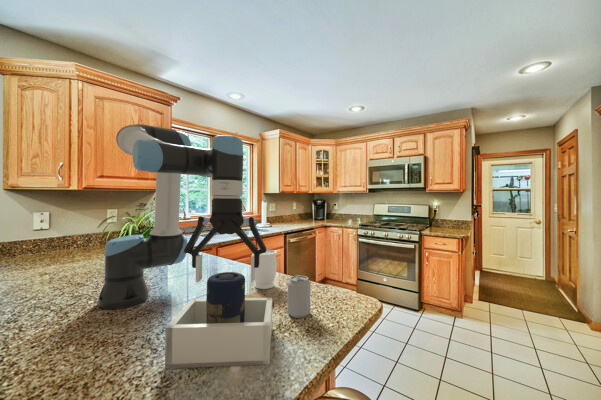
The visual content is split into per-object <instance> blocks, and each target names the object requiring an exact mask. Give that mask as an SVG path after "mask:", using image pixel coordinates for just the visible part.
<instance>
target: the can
mask: <svg viewBox="0 0 601 400" xmlns="http://www.w3.org/2000/svg"><path fill="white" fill-rule="evenodd" d="M287 313H288V314H289V315H290V316H291V317H292V318H296V319H302V318H305V317H308V315H309V314H310V313H311V281H310V280H309V277H308V276H306V275H302V274H301V275H300V274H298V275H296V274H295V275H292V276H290V277H289V280H288V282H287Z"/></svg>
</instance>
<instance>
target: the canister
mask: <svg viewBox="0 0 601 400" xmlns="http://www.w3.org/2000/svg"><path fill="white" fill-rule="evenodd" d="M245 295H246V277H245V276H244V274H243V273H240V272H236V271H226V272H225V271H224V272H218V273H214V274H212V275H211V276H209V277H208V279H207V281H206V298H205V299H206V312H207V316H206V324H214V323H244V320H245Z"/></svg>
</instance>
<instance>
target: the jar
mask: <svg viewBox="0 0 601 400" xmlns="http://www.w3.org/2000/svg"><path fill="white" fill-rule="evenodd" d="M252 254H253V252H252ZM252 254H251V255H252ZM277 254H278V251H277V250H274V249H266V252H265V253H262V254H260V255H259V267H258V268H255V279H254V282H255V283H254V285H253V286H254V288H256V289H259V290H268V289H271V288H274V287H275V283H274V282H275V278H276V275H277V268H278V260H277Z"/></svg>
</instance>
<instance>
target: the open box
mask: <svg viewBox="0 0 601 400" xmlns="http://www.w3.org/2000/svg"><path fill="white" fill-rule="evenodd" d="M206 299H207V298H196V299H193V298H191V299H190V300H189V301H188V302H187V303H186V304H185V305H184V306H183V307H182V309H181V310H180V311H179V312H178V313H177V314H176V316H175V317H174V318H173V319H172V320H171V321H170V322H169V323H168V325H167V326H166V327H165V329H164V330H165V331H164V332H165V335H164V342H165V343H164V346H165V347H164V369H165V370H169V369H170V370H171V369H189V368H190V369H192V368H213V367H214V368H215V367H216V368H217V367H238V366H239V367H240V366H261V365H262V366H265V365H268V366H269V365H270V363H271V362H270V361H271V352H272V351H271V350H272V349H271V347H272V332H273V306H272V301H273V297H268V298H245V320H244V323H214V324H206V316H207V312H206Z"/></svg>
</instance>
